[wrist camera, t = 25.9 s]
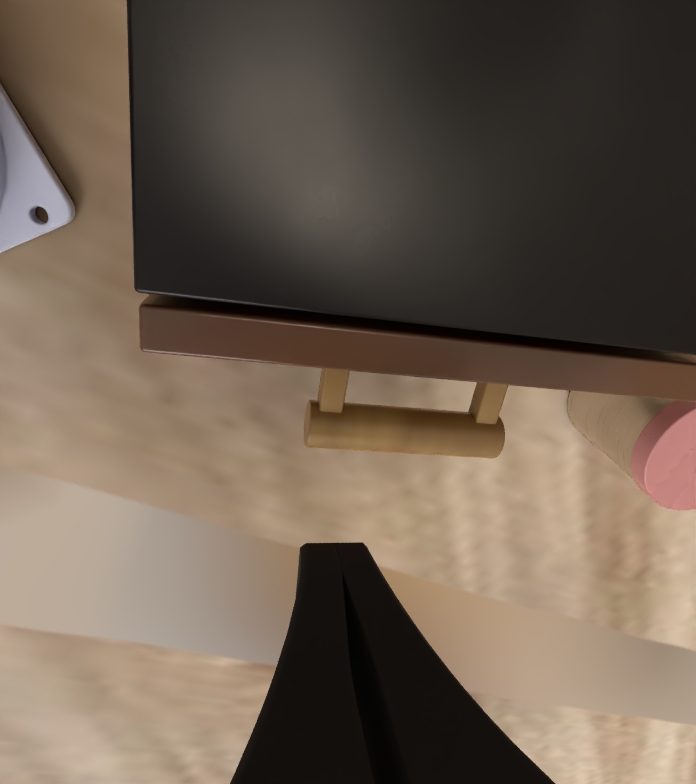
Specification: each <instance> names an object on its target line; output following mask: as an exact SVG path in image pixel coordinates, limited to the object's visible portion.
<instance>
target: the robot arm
mask: <svg viewBox="0 0 696 784" xmlns="http://www.w3.org/2000/svg"><path fill="white" fill-rule="evenodd" d="M38 206H39V207H42V208H44V209H45V210H46V211H47V213H48V216H49V218H48V221H47V222H46V223H44V222H42V221H40V220H39V219H38V218H37V216H36V213H35V211H36V208H37V207H38ZM74 216H75V206H74V204H73V201H72V200H71V198H70V196H69V195H68V193H67V191H66V190H65V188H64V187H63V185H62V183H61V182H60V180H59V178H58V177H57V175H56V174H55V172H54V170H53V169H52V167H51V165H50V164H49V162H48V160H47V159H46V157H45V156H44V154H43V152H42V151H41V149H40V147H39V146H38V144H37V143H36V141H35V139H34V138H33V136H32V134H31V133H30V131H29V129H28V128H27V126H26V125H25V123H24V121H23V120H22V118H21V116H20V115H19V113H18V111H17V110H16V108H15V107H14V105H13V103H12V102H11V100H10V98H9V97H8V95H7V94H6V92H5V90H4V89H3V87H2V85H1V84H0V253H2V252H4V251H6V250H9V249H11V248H13V247H15V246H18V245H20V244H22V243H25V242H27V241H29V240H31V239H34V238H36V237H38V236H41V235H43V234H45V233H47V232H50V231H52V230H54V229H57V228H59V227H61V226H63V225H66V224H68V223H69V222H71V221H72V220H73V218H74ZM230 784H555V783H554V782H553V781H552V780H551V779H550V778H549V777H548V776H547V775H546V774H545V773H544V772H543V771H542V770H541V769H540V768H539V767H538V766H537V765H536V764H535V763H534V762H533V761H532V760H530V759H529V758H528V757H527V756H526V755H525V754H524V753H523V752H522V751H521V750H520V749H519V748H518V747H517V746H516V745H515V744H514V743H513V742H512V741H511V740H510V739H509V738H508V736H507V735H506V734H505V733H504V732H503V731H502V730H501V729H500V728H499V727H498V726H497V725H496V724H495V723H494V721H493V720H492V719H491V718H490V717H489V716H488V715H487V714H486V713H485V712H484V711H483V709H482V708H481V707H480V706H479V705H478V704H477V703H476V701H475V700H474V699H473V698H472V697H471V696H470V695H469V693H468V692H467V691H466V690H465V689H464V688H463V686H462V685H461V684H460V683H459V682H458V680H457V679H456V678H455V677H454V675H453V674H452V673H451V672H450V671H449V669H448V668H447V667H446V665H445V664H444V663H443V662H442V660H441V659H440V658H439V656H438V655H437V654H436V653H435V651H434V650H433V649H432V647H431V646H430V645H429V643H428V642H427V640H426V639H425V638H424V637H423V635H422V634H421V632H420V631H419V629H418V628H417V626H416V625H415V624H414V622H413V621H412V619H411V618H410V616H409V615H408V614H407V612H406V611H405V609H404V608H403V606H402V605H401V603H400V602H399V600H398V599H397V597H396V596H395V594H394V592H393V591H392V589H391V588H390V586H389V584H388V583H387V581H386V580H385V578H384V576H383V575H382V573H381V571H380V570H379V568H378V566H377V564H376V563H375V561H374V559H373V557H372V556H371V554H370V552H369V550H368V548H367V547H366V546H365V545H364V543H306V544H304V545H303V546H302V547H300V555H299V567H298V579H297V590H296V600H295V604H294V608H293V612H292V617H291V621H290V625H289V629H288V633H287V636H286V639H285V642H284V645H283V648H282V652H281V655H280V658H279V661H278V664H277V667H276V671H275V674H274V677H273V679H272V682H271V685H270V688H269V691H268V693H267V696H266V699H265V701H264V704H263V707H262V709H261V712H260V714H259V717H258V719H257V722H256V724H255V727H254V729H253V732H252V734H251V737H250V739H249V741H248V744H247V746H246V748H245V751H244V753H243V755H242V758H241V760H240V762H239V765H238V767H237V769H236V772H235V774H234V776H233V778H232V780H231V783H230Z"/></svg>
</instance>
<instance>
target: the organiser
mask: <svg viewBox="0 0 696 784" xmlns="http://www.w3.org/2000/svg"><path fill="white" fill-rule="evenodd" d="M127 24H128V63H129V101H130V140H131V179H132V217H133V256H134V288H135V290H136V291H137V292H139V293H147V294H156V295H165V296H174V297H183V298H192V299H200V300H209V301H218V302H227V303H236V304H245V305H254V306H263V307H272V308H281V309H289V310H298V311H307V312H316V313H325V314H334V315H343V316H352V317H361V318H370V319H378V320H387V321H396V322H405V323H414V324H423V325H432V326H441V327H450V328H459V329H467V330H476V331H485V332H494V333H503V334H512V335H521V336H530V337H539V338H548V339H556V340H565V341H574V342H583V343H592V344H601V345H610V346H619V347H628V348H637V349H646V350H654V351H663V352H672V353H681V354H690V355H696V0H127Z"/></svg>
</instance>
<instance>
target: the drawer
mask: <svg viewBox="0 0 696 784" xmlns="http://www.w3.org/2000/svg"><path fill="white" fill-rule="evenodd" d="M139 331H140V348H141V351H143V352H151V353H162V354H173V355H184V356H195V357H206V358H217V359H228V360H239V361H250V362H261V363H272V364H283V365H294V366H305V367H316V368H322V371H321V378H320V385H319V392H318V399H317V400H309V401H308V403H307V407H306V414H305V424H304V443H305V446H306V447H310V448H327V449H344V450H361V451H378V452H394V453H411V454H428V455H445V456H462V457H478V458H496V457H497V456H499V454H500V453H501V451H502V449H503V446H504V441H505V429H504V425H503V422H502V420H501V418H500V417H499V413H500V410H501V406H502V403H503V400H504V397H505V394H506V391H507V387H508V385H514V386H525V387H536V388H547V389H558V390H569V391H580V392H591V393H602V394H613V395H624V396H635V397H646V398H657V399H668V400H679V401H690V402H696V355H690V354H681V353H672V352H663V351H654V350H646V349H637V348H628V347H619V346H610V345H601V344H592V343H583V342H574V341H565V340H556V339H548V338H539V337H530V336H521V335H512V334H503V333H494V332H485V331H476V330H467V329H459V328H450V327H441V326H432V325H423V324H414V323H405V322H396V321H387V320H378V319H370V318H361V317H352V316H343V315H334V314H325V313H316V312H307V311H298V310H289V309H281V308H272V307H263V306H254V305H245V304H236V303H227V302H218V301H209V300H200V299H192V298H183V297H174V296H165V295H156V294H149V296H148V297H147V298H146V299H145V300H144V301H143V302H142V303H141V304H140V307H139ZM349 371H360V372H371V373H382V374H393V375H404V376H415V377H426V378H437V379H448V380H459V381H470V382H477V384H476V387H475V391H474V394H473V398H472V401H471V405H470V408H469V412H459V411H446V410H434V409H421V408H408V407H395V406H382V405H370V404H357V403H344V401H345V395H346V389H347V383H348V377H349Z"/></svg>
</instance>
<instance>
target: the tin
mask: <svg viewBox="0 0 696 784" xmlns="http://www.w3.org/2000/svg"><path fill="white" fill-rule="evenodd" d="M568 414H569V417H570V420H571V422H572V424H573V425H574V426H575V428H577V429H578V430H579V431H580V432H581V433H582V434H583V435H584V436H585V437H587V438H588V439H589V440H590V441H591V442H592V443H593V444H594V445H596V446H597V447H598V448H599V449H600V450H601V451H602V452H603V453H605V454H606V455H607V456H608V457H609V458H610V459H611V460H612V461H614V462H615V463H616V464H617V465H618V466H619V467H620V468H621V469H623V470H624V471H625V472H626V473H627V474H628V475H629V476H630V477H632V478H633V479H634V481H635V483H636V484H637V486H638V487H639V488H640V489H641V490H642V491H643V492H644V493H645V494H646V495H648V496H649V497H650V498H651V499H652V500H653V501H654V502H656V503H657V504H659V505H660V506H663V507H665V508H668V509H672V510H691V509H696V402H690V401H679V400H668V399H657V398H646V397H635V396H624V395H613V394H602V393H591V392H580V391H570V393H569V397H568Z"/></svg>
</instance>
